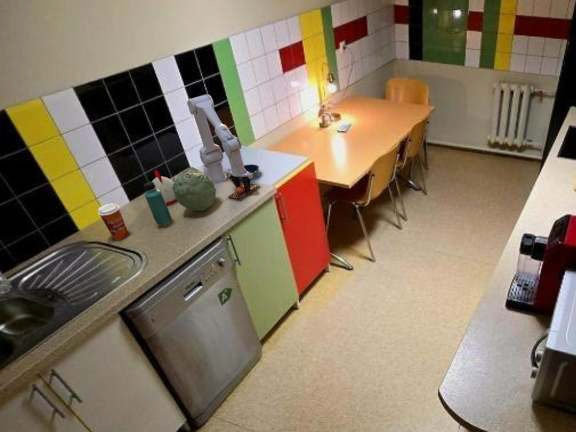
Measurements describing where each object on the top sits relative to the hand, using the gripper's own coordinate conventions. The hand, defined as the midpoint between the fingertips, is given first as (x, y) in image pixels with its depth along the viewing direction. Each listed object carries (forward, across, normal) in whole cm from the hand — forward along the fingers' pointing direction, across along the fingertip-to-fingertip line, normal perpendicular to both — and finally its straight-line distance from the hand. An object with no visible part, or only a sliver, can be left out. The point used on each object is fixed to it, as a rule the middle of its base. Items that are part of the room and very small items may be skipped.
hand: (243, 189), depth 201 cm
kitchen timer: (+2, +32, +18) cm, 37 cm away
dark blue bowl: (+2, +10, -14) cm, 17 cm away
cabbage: (+2, +9, +19) cm, 21 cm away
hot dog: (+1, 0, 0) cm, 1 cm away
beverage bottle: (+2, +14, +34) cm, 37 cm away
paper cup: (+2, +25, +48) cm, 54 cm away
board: (+2, 0, 0) cm, 2 cm away
